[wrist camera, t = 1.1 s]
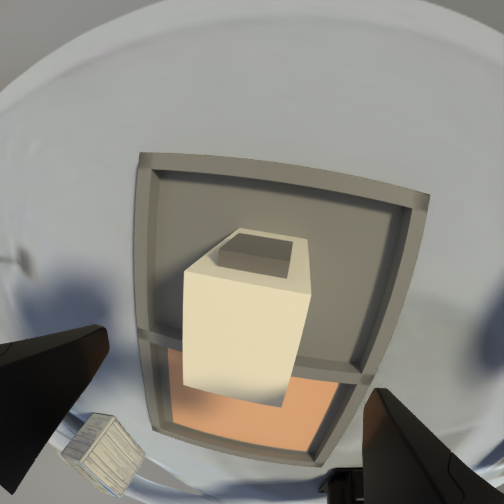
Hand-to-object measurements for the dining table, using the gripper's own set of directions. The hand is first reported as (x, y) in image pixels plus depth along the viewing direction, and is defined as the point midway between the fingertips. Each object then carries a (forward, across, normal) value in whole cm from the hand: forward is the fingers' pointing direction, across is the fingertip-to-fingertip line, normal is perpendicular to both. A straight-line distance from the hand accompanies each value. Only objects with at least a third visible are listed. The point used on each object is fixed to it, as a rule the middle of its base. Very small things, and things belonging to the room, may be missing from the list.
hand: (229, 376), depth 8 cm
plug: (+9, 0, 0) cm, 9 cm away
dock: (+10, 0, +6) cm, 11 cm away
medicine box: (+10, +15, +26) cm, 32 cm away
